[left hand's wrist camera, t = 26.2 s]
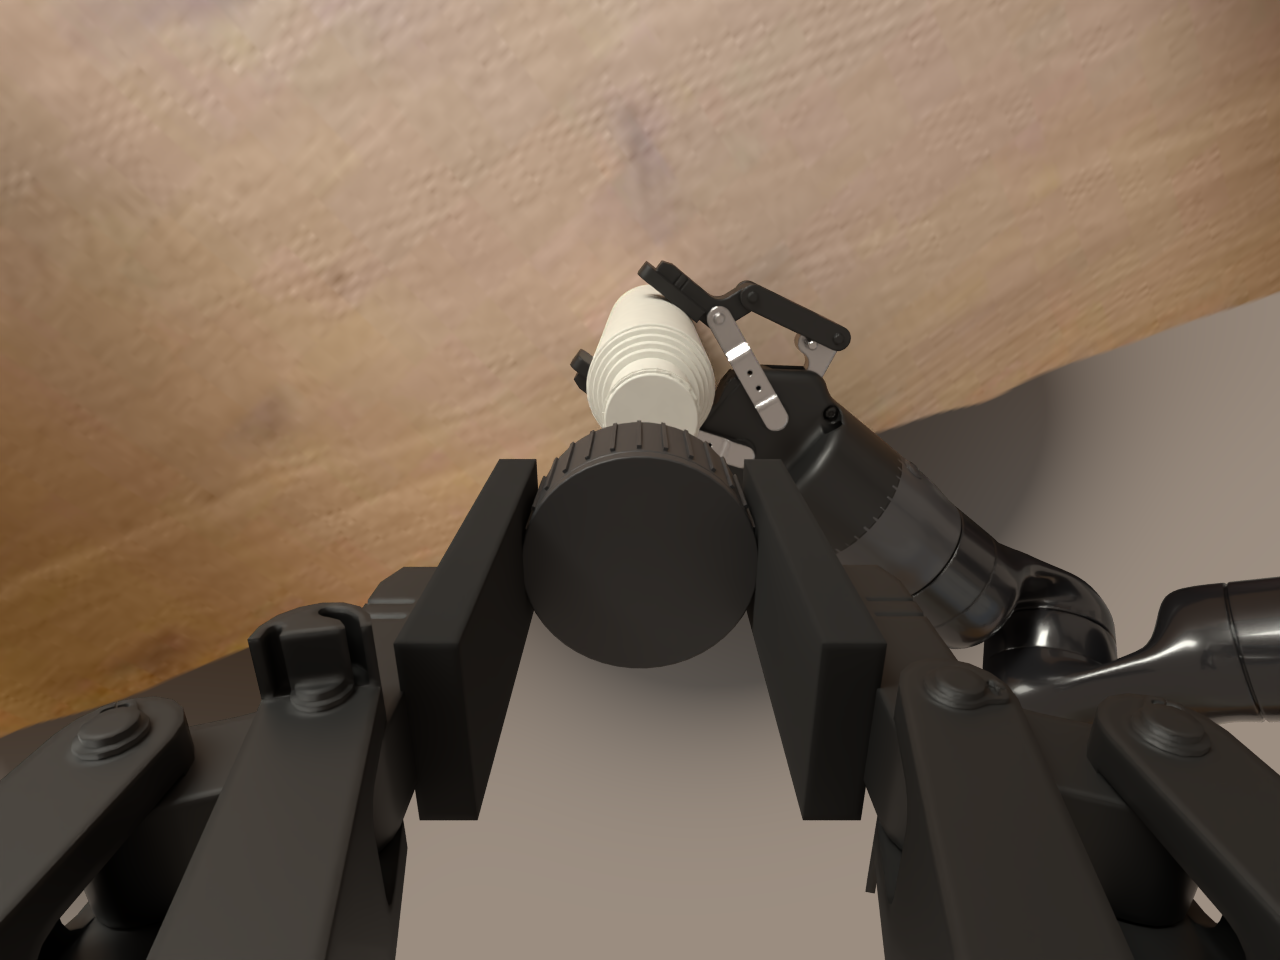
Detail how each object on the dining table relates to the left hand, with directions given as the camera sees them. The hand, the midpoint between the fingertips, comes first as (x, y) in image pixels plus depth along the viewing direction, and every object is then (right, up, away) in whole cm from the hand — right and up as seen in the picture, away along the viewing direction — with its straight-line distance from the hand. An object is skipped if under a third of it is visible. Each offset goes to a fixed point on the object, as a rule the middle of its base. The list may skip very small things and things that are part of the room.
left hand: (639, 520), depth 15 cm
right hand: (-2, +9, +20) cm, 22 cm away
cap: (0, -1, -2) cm, 2 cm away
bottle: (+1, +10, +27) cm, 29 cm away
